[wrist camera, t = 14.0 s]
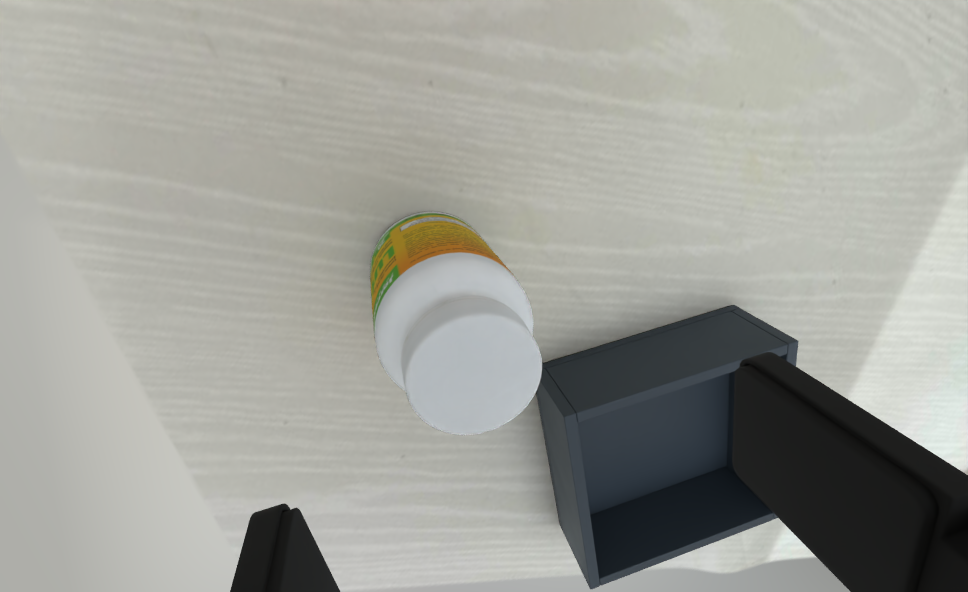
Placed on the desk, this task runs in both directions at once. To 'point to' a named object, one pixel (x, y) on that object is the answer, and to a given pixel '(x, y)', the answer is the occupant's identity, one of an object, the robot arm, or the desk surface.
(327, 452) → the desk surface
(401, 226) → the supplement bottle
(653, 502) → the slate bin
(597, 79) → the desk surface
